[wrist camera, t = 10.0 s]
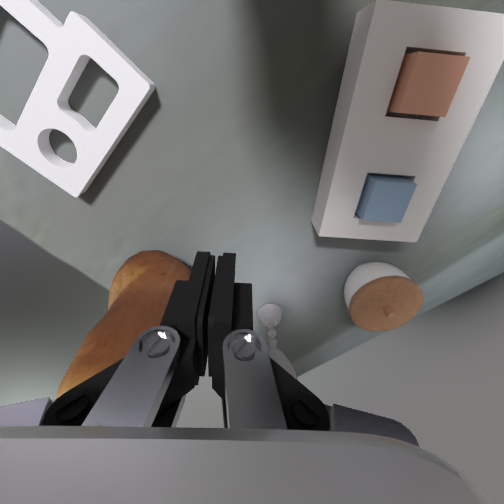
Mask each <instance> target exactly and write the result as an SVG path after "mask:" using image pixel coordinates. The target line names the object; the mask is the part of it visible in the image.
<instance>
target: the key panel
mask: <svg viewBox="0 0 504 504" xmlns="http://www.w3.org/2000/svg"><path fill="white" fill-rule="evenodd" d="M418 51H420V52H430V53H439V54H448V55H458V56H467V57H470V60H469V62H468V65H467V67H466V69H465V72H464V74H463V76H462V79H461V81H460V84H459V86H458V88H457V91H456V93H455V95H454V98H453V100H452V103H451V105H450V107H449V110H448V112H447V114H446V117H438V116H427V115H417V114H406V113H396V112H390V111H387V109H388V105H389V102H390V99H391V96H392V93H393V89H394V86H395V83H396V80H397V76H398V73H399V70H400V67H401V64H402V60H403V57H404V54H409V53H414V52H418ZM503 60H504V14H500V13H492V12H483V11H475V10H466V9H458V8H449V7H441V6H432V5H424V4H415V3H407V2H398V1H390V0H375V1H373V2H372V3H370V4H369V5H367V6H366V7H364V8H363V9H361V10H360V11H359V12H357V13H356V18H355V23H354V27H353V32H352V36H351V41H350V45H349V50H348V54H347V59H346V64H345V68H344V73H343V77H342V82H341V86H340V91H339V96H338V100H337V105H336V109H335V114H334V118H333V123H332V127H331V132H330V137H329V141H328V146H327V150H326V155H325V159H324V164H323V169H322V173H321V178H320V182H319V187H318V191H317V196H316V200H315V205H314V210H313V214H312V219H311V222H312V224H313V226H314V228H315V230H316V232H317V234H318V236H321V237H337V238H353V239H369V240H385V241H401V242H417V241H418V239H419V237H420V235H421V232H422V230H423V228H424V226H425V224H426V222H427V220H428V218H429V216H430V214H431V211H432V209H433V207H434V205H435V203H436V201H437V199H438V197H439V195H440V193H441V190H442V188H443V186H444V184H445V182H446V180H447V178H448V176H449V174H450V172H451V170H452V167H453V165H454V163H455V161H456V159H457V157H458V155H459V153H460V151H461V149H462V146H463V144H464V142H465V140H466V138H467V136H468V134H469V132H470V130H471V128H472V125H473V123H474V121H475V119H476V117H477V115H478V113H479V111H480V109H481V107H482V105H483V102H484V100H485V98H486V96H487V94H488V92H489V90H490V88H491V86H492V84H493V81H494V79H495V77H496V75H497V73H498V71H499V69H500V67H501V65H502V63H503ZM367 174H375V175H388V176H401V177H405V178H407V179H409V180H411V181H413V182H414V183H416V184H417V186H416V188H415V191H414V193H413V195H412V198H411V200H410V203H409V205H408V207H407V210H406V212H405V214H404V217H403V219H402V222H401V223H397V222H382V221H367V220H362V219H361V218H360V217H359V215H358V214H357V213H356V212H355V211H356V208H357V205H358V202H359V199H360V195H361V192H362V189H363V186H364V182H365V179H366V176H367Z"/></svg>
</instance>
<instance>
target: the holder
mask: <svg viewBox="0 0 504 504" xmlns="http://www.w3.org/2000/svg"><path fill="white" fill-rule="evenodd" d="M0 5H1V6H2V7H3V8H4V9H5V10H6V11H8V12H9V13H10V14H11V15H12V16H13V17H14V18H16V19H17V20H18V21H19V22H20V23H21V24H22V25H23V26H25V27H26V28H27V29H28V30H29V31H30V32H31V33H33V34H34V35H35V36H36V37H37V38H38V39H39V40H41V41H42V42H43V43H44V44H45V45H46V47H47V49H48V52H49V57H48V59H47V61H46V63H45V66H44V68H43V70H42V72H41V74H40V76H39V78H38V80H37V83H36V85H35V87H34V89H33V91H32V93H31V95H30V97H29V99H28V102H27V104H26V106H25V108H24V110H23V112H22V114H21V116H20V119H19V121H18V123H17V125H14V124H13V123H12V122H10V121H9V120H7V119H6V118H5V117H3V116H2V115H1V114H0V146H1V147H3V148H4V149H6V150H7V151H8V152H10V153H11V154H13V155H14V156H16V157H17V158H19V159H20V160H22V161H23V162H24V163H26V164H27V165H29V166H30V167H32V168H33V169H35V170H36V171H38V172H39V173H40V174H42V175H43V176H45V177H46V178H48V179H49V180H51V181H52V182H54V183H55V184H56V185H58V186H59V187H61V188H62V189H64V190H65V191H67V192H68V193H69V194H71V195H72V196H74V197H78V196H79V195H81V194H82V193H84V192H86V191H87V189H88V188H89V186H90V185H91V183H92V182H93V180H94V179H95V177H96V176H97V174H98V173H99V171H100V170H101V168H102V167H103V165H104V164H105V163H106V161H107V160H108V158H109V157H110V155H111V154H112V152H113V151H114V149H115V148H116V146H117V145H118V143H119V142H120V140H121V139H122V137H123V136H124V134H125V133H126V131H127V130H128V128H129V127H130V125H131V124H132V123H133V121H134V120H135V118H136V117H137V115H138V114H139V112H140V111H141V109H142V108H143V106H144V105H145V103H146V102H147V100H148V99H149V97H150V96H151V94H152V93H153V91H154V90H155V84H154V83H153V82H152V81H151V80H150V79H149V78H148V77H147V76H146V75H145V74H144V73H143V72H142V71H141V70H140V69H139V68H138V67H137V66H136V65H135V64H134V63H133V62H132V61H131V60H130V59H128V58H127V57H126V56H125V55H124V54H123V53H122V52H121V51H120V50H119V49H118V48H117V47H116V46H115V45H114V44H113V43H112V42H111V41H110V40H109V39H108V38H107V37H106V36H105V35H104V34H103V33H102V32H101V31H100V30H99V29H98V28H97V27H96V26H95V25H94V24H93V23H92V22H91V21H90V20H89V19H88V18H86V17H84V16H82V15H80V14H78V13H75V12H73V11H71V12H70V13H69V15H68V17H67V19H66V21H65V23H64V25H63V24H62V23H61V22H60V21H59V20H58V19H57V18H56V17H55V16H53V15H52V14H51V13H50V12H49V11H48V10H47V9H46V8H45V7H44V6H43V5H42V4H41V3H40V2H38V1H37V0H0ZM90 58H92V59H93V60H94V61H95V62H96V63H97V64H98V65H100V66H101V67H102V68H103V69H104V70H105V71H106V72H107V73H108V74H109V75H110V76H111V77H113V78H114V79H115V80H116V82H117V83H118V85H119V92H118V94H117V96H116V97H115V99H114V100H113V102H112V104H111V105H110V107H109V109H108V110H107V112H106V113H105V115H104V117H103V118H102V120H101V121H100V123H99V125H98V126H97V128H94V127H93V126H92V125H91V124H90V123H89V122H88V121H87V120H86V119H85V118H84V117H83V116H82V115H80V114H78V113H77V112H75V111H74V110H72V109H71V107H70V106H69V103H68V99H69V97H70V95H71V93H72V91H73V89H74V87H75V85H76V84H77V82H78V80H79V78H80V76H81V74H82V72H83V71H84V69H85V67H86V65H87V63H88V61H89V60H90ZM52 129H57V130H59V131H61V132H63V133H65V134H66V135H67V136H68V137H69V138H70V139H71V140H72V141H73V143H74V145H75V146H76V149H77V160H76V162H75V163H69V162H66V161H64V160H62V159H61V158H60V157H58V156H57V155H56V154H55V152H54V151H53V150H52V148H51V146H50V142H49V134H50V132H51V131H52Z"/></svg>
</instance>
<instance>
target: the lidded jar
mask: <svg viewBox="0 0 504 504" xmlns="http://www.w3.org/2000/svg"><path fill="white" fill-rule="evenodd" d="M344 297H345V302H346V305H347V308H348V310H349V314H350V316H351V318H352V321H353V322H354V323H355V324H356V325H357V326H358V327H360V328H362V329H365V330H368V331H386V330H391V329H394V328H397V327H399V326H401V325H403V324H405V323H406V322H408V321H409V320H411V319H412V318H413V317H414V316H415V315H416V314H417V313H418V311H419V309H420V308H421V305H422V302H423V294H422V291H421V289H420V288H419V287H418V286H417V284H416V283H415V282H413V281H412V280H411V279H410V278H409V277H408V276H407V275H406V274H405V273H404V272H403V271H401V270H400V269H398V268H397V267H395V266H393V265H391V264H388V263H383V262H369V263H364V264H361V265H359V266H358V267H356V268H355V269H354V270H353V271H352V272H351V274H350V275H349V276H348V278H347V280H346V283H345V287H344Z"/></svg>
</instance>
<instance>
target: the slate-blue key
mask: <svg viewBox="0 0 504 504" xmlns="http://www.w3.org/2000/svg"><path fill="white" fill-rule="evenodd" d="M416 186H417V184H416V183H414V182H413V181H411V180H409V179H407V178H405V177H401V176H388V175H375V174H367V176H366V179H365V182H364V186H363V189H362V192H361V195H360V199H359V202H358V205H357V208H356V211H355V212H356V213H357V214H358V215H359V217H360V218H361V219H362V220H367V221H382V222H397V223H401V222H402V219H403V217H404V214H405V212H406V210H407V207H408V205H409V203H410V200H411V198H412V195H413V193H414V191H415V188H416Z"/></svg>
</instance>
